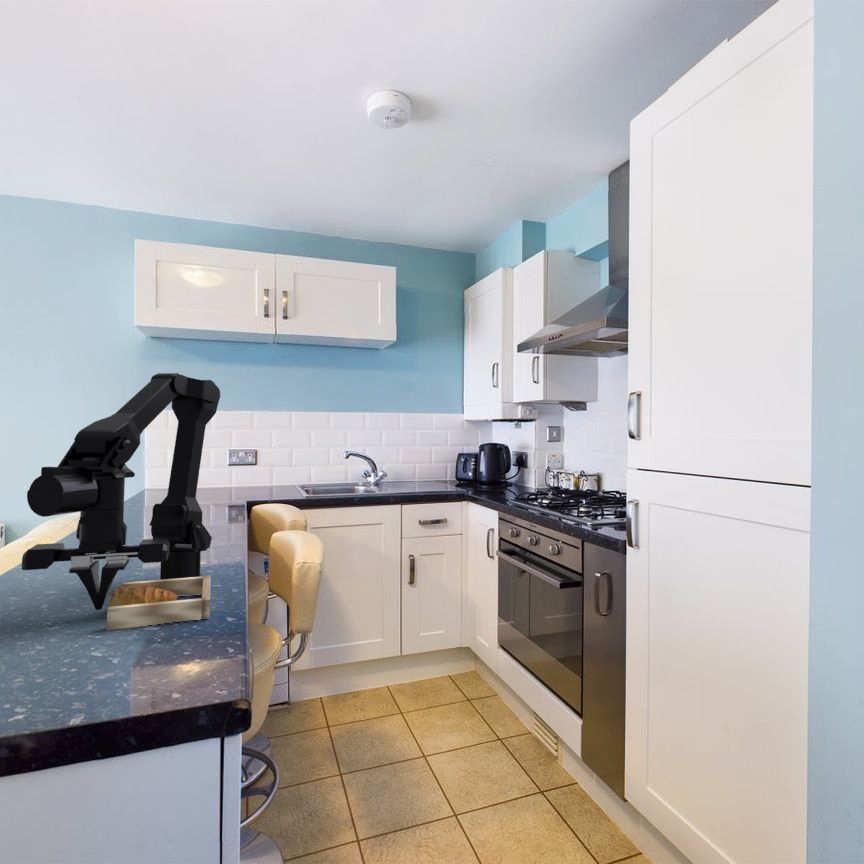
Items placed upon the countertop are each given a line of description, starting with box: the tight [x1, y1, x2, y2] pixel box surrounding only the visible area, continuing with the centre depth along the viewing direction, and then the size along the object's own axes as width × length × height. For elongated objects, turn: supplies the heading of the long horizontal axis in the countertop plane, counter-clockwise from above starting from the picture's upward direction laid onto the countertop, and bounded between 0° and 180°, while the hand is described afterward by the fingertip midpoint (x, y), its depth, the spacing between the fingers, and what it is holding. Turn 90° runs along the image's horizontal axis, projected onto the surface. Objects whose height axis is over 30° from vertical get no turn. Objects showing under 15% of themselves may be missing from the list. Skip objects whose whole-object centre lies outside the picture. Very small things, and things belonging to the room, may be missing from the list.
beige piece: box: [106, 575, 212, 631], centre depth 85 cm, size 14×15×3 cm
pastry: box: [108, 585, 178, 607], centre depth 84 cm, size 9×7×4 cm
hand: (99, 609), depth 81 cm, fingers closed
